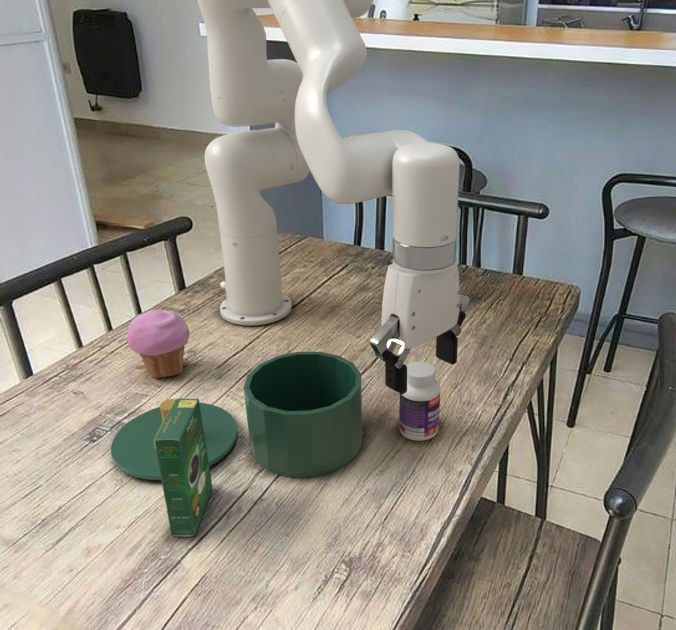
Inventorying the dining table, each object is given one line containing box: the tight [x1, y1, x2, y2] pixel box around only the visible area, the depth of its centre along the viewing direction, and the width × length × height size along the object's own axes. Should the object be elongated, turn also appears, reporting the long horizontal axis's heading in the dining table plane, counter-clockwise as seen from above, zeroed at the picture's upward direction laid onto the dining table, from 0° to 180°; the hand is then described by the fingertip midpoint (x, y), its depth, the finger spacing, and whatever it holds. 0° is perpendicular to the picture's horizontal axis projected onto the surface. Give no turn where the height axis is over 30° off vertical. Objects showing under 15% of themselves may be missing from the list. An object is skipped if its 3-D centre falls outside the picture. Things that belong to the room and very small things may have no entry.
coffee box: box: [154, 398, 213, 538], centre depth 75 cm, size 8×3×13 cm, turn 1°
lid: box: [110, 398, 238, 481], centre depth 87 cm, size 16×16×6 cm
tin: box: [243, 351, 363, 479], centre depth 88 cm, size 14×14×10 cm
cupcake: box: [126, 309, 191, 379], centre depth 102 cm, size 9×9×10 cm
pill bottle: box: [398, 360, 441, 442], centre depth 90 cm, size 5×5×10 cm
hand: (422, 374), depth 88 cm, fingers open, 9 cm apart
